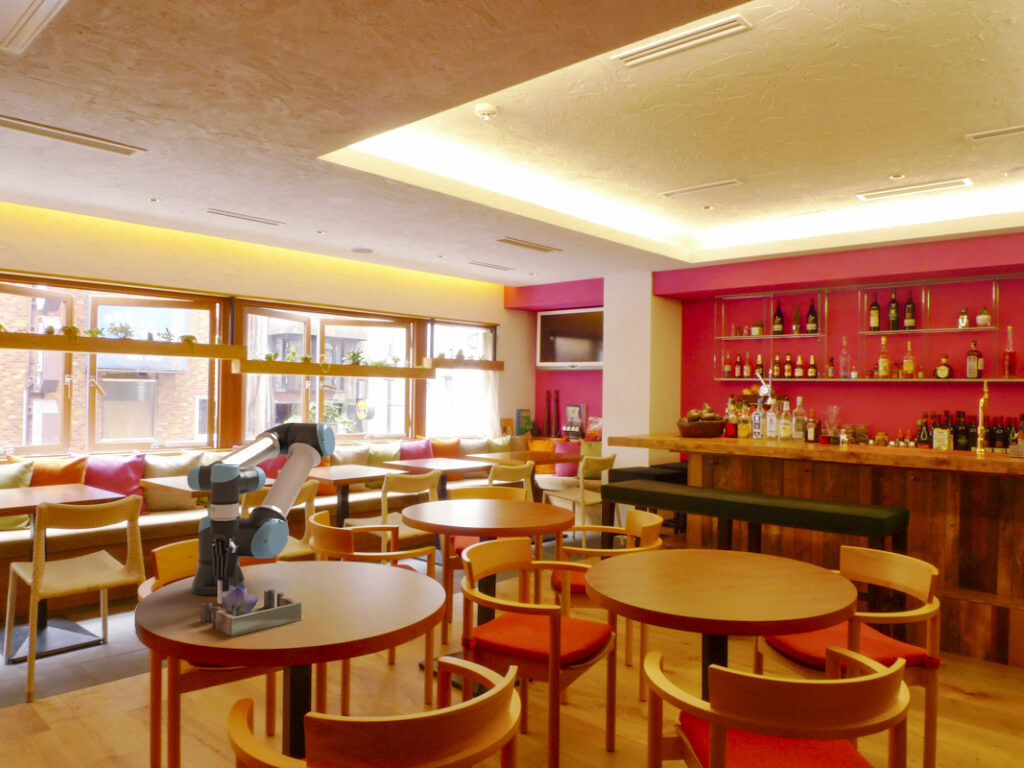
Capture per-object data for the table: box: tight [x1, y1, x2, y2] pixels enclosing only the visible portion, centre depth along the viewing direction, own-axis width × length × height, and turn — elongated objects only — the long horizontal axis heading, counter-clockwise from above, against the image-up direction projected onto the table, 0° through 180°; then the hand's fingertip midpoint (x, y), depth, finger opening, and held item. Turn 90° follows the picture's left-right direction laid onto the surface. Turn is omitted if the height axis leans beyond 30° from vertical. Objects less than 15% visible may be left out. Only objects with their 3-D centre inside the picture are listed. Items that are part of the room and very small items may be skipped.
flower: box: [221, 585, 259, 617], centre depth 190 cm, size 9×9×10 cm
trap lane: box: [200, 589, 302, 638], centre depth 188 cm, size 18×20×5 cm
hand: (223, 602), depth 200 cm, fingers closed
